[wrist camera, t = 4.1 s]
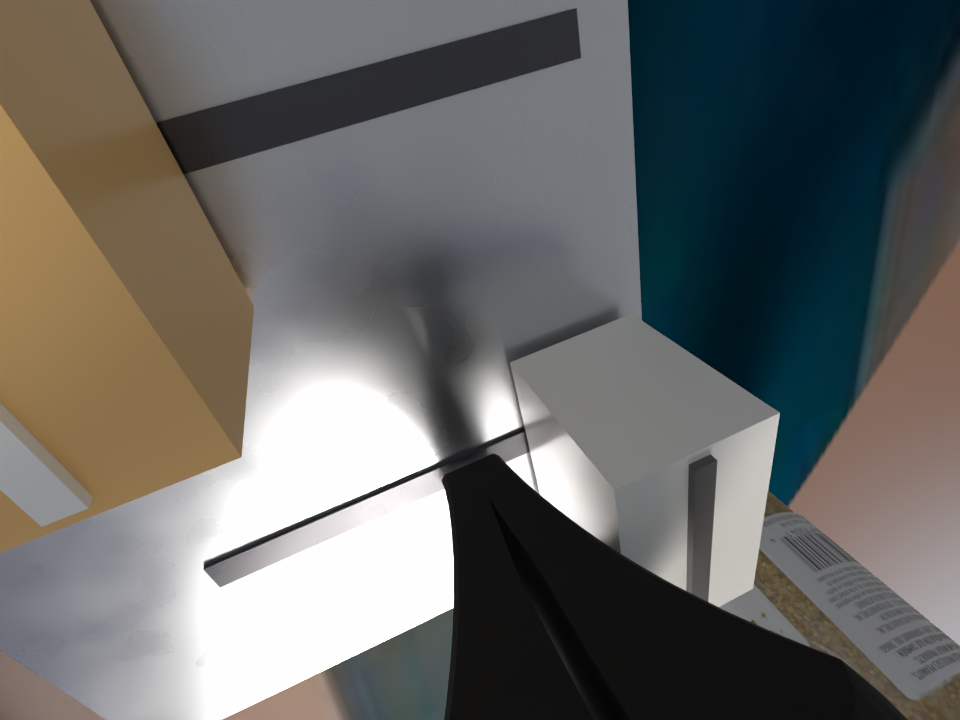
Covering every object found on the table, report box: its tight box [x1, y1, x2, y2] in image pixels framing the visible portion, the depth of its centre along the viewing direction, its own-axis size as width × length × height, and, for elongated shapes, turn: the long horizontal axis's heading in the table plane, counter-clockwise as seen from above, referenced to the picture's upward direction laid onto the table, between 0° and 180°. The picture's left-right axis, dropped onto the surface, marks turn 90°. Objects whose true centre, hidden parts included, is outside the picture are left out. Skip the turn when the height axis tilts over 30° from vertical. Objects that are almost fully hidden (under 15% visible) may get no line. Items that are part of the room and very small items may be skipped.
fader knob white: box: [510, 314, 780, 607], centre depth 11 cm, size 3×5×4 cm, turn 13°
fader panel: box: [0, 0, 642, 720], centre depth 10 cm, size 15×18×2 cm
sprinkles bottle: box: [719, 491, 960, 720], centre depth 14 cm, size 5×5×13 cm
